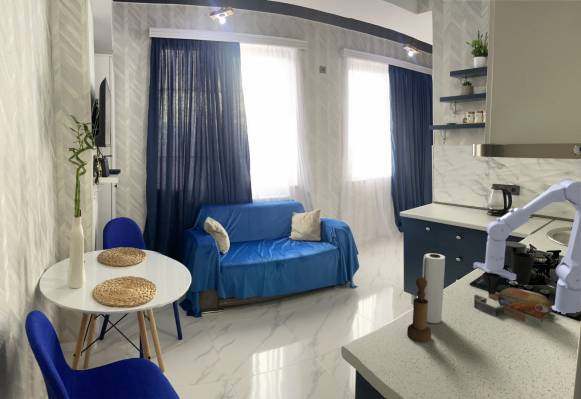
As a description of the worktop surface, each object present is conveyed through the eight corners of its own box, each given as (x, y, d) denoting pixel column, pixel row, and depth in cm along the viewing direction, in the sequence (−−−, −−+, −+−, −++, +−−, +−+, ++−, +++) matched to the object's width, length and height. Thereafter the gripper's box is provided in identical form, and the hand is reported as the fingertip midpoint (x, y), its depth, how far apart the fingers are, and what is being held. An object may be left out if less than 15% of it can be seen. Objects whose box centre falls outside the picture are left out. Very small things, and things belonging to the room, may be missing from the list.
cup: (534, 288, 147) (537, 258, 145) (513, 287, 148) (515, 257, 146) (526, 281, 154) (529, 252, 152) (506, 279, 156) (508, 251, 154)
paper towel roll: (438, 315, 125) (442, 252, 122) (443, 324, 119) (447, 258, 116) (415, 314, 126) (418, 252, 122) (420, 323, 120) (423, 258, 116)
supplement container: (530, 275, 161) (533, 247, 159) (505, 275, 161) (508, 247, 160) (516, 266, 172) (519, 241, 170) (493, 266, 172) (495, 240, 170)
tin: (496, 309, 130) (498, 285, 128) (499, 306, 132) (501, 283, 130) (548, 324, 119) (551, 298, 118) (551, 321, 121) (553, 295, 120)
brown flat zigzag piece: (497, 294, 142) (497, 288, 141) (561, 318, 122) (562, 311, 122) (466, 303, 134) (467, 297, 133) (530, 331, 114) (531, 323, 114)
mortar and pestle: (434, 336, 112) (437, 277, 109) (425, 344, 107) (428, 284, 105) (413, 328, 117) (415, 272, 114) (403, 336, 112) (405, 278, 109)
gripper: (468, 252, 136) (466, 288, 138) (508, 263, 124) (504, 303, 126) (481, 249, 139) (478, 284, 142) (521, 260, 127) (517, 299, 129)
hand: (491, 293), depth 134 cm, fingers closed
